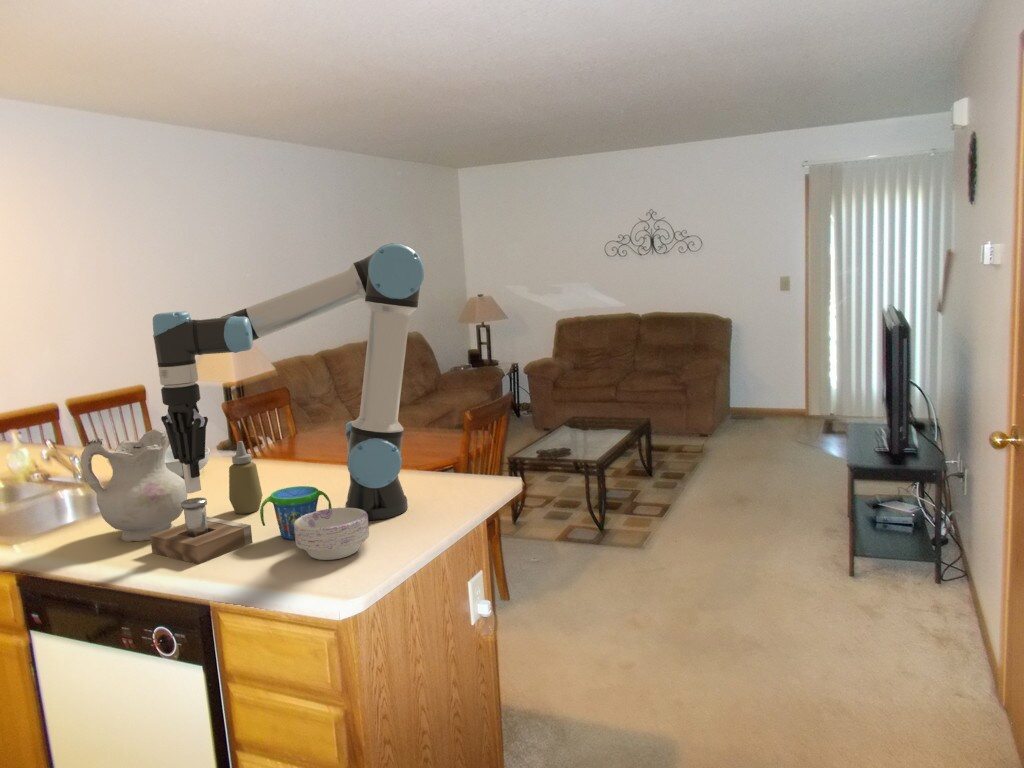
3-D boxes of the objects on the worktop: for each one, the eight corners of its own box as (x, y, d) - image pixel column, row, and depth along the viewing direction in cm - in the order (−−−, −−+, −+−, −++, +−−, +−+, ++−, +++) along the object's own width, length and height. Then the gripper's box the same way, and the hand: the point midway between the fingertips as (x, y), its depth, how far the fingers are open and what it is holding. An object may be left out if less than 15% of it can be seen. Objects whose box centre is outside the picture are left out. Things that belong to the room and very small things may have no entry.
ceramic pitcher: (125, 560, 173) (117, 450, 169) (71, 542, 182) (62, 437, 178) (206, 529, 192) (201, 429, 187) (154, 515, 201) (147, 419, 196)
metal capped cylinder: (217, 547, 175) (211, 499, 173) (196, 554, 171) (191, 505, 169) (201, 543, 178) (196, 496, 176) (181, 551, 173) (175, 503, 172)
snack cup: (333, 523, 187) (329, 482, 185) (333, 538, 177) (329, 494, 175) (264, 532, 184) (260, 489, 182) (261, 547, 173) (256, 502, 172)
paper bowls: (325, 537, 177) (322, 503, 176) (384, 543, 171) (381, 508, 170) (281, 562, 163) (277, 525, 162) (343, 569, 158) (340, 531, 156)
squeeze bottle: (254, 515, 196) (246, 445, 194) (224, 515, 198) (216, 445, 195) (269, 506, 204) (262, 437, 202) (240, 506, 206) (233, 438, 203)
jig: (252, 542, 177) (250, 525, 176) (198, 564, 165) (196, 545, 164) (206, 533, 185) (204, 516, 184) (152, 553, 173) (149, 535, 173)
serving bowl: (151, 470, 251) (148, 449, 250) (219, 465, 253) (217, 444, 252) (127, 488, 231) (124, 465, 230) (201, 482, 233) (198, 459, 232)
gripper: (145, 386, 169) (160, 493, 173) (183, 388, 162) (198, 499, 166) (176, 381, 175) (189, 484, 179) (214, 382, 168) (227, 489, 172)
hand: (193, 491), depth 172 cm, fingers closed
